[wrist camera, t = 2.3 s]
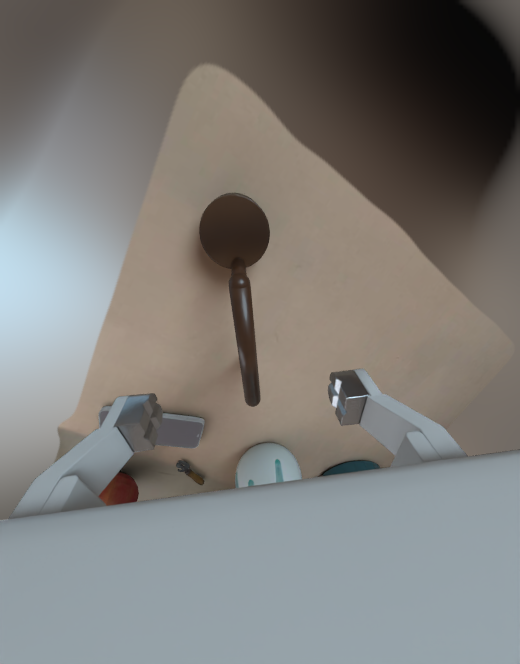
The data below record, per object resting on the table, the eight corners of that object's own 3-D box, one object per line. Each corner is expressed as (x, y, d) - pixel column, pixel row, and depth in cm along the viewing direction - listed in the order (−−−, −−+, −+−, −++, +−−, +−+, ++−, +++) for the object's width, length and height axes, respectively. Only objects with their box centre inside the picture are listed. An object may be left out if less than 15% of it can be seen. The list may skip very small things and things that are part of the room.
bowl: (367, 450, 48) (383, 482, 42) (387, 475, 55) (402, 505, 50) (306, 475, 51) (314, 507, 46) (332, 495, 58) (341, 525, 53)
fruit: (149, 481, 46) (130, 547, 38) (106, 485, 45) (77, 553, 37) (138, 459, 42) (113, 529, 33) (90, 463, 41) (54, 535, 33)
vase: (231, 468, 46) (230, 605, 31) (239, 433, 40) (242, 582, 25) (287, 468, 48) (310, 597, 34) (302, 435, 42) (340, 574, 27)
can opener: (205, 478, 47) (204, 485, 46) (194, 481, 48) (193, 487, 47) (183, 457, 43) (182, 463, 42) (172, 460, 43) (170, 466, 42)
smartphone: (98, 408, 33) (205, 422, 36) (101, 403, 33) (205, 417, 37) (100, 439, 36) (197, 449, 40) (103, 434, 37) (198, 444, 41)
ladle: (197, 195, 21) (177, 203, 13) (264, 190, 21) (280, 195, 14) (226, 358, 31) (224, 413, 24) (271, 353, 31) (282, 406, 24)
